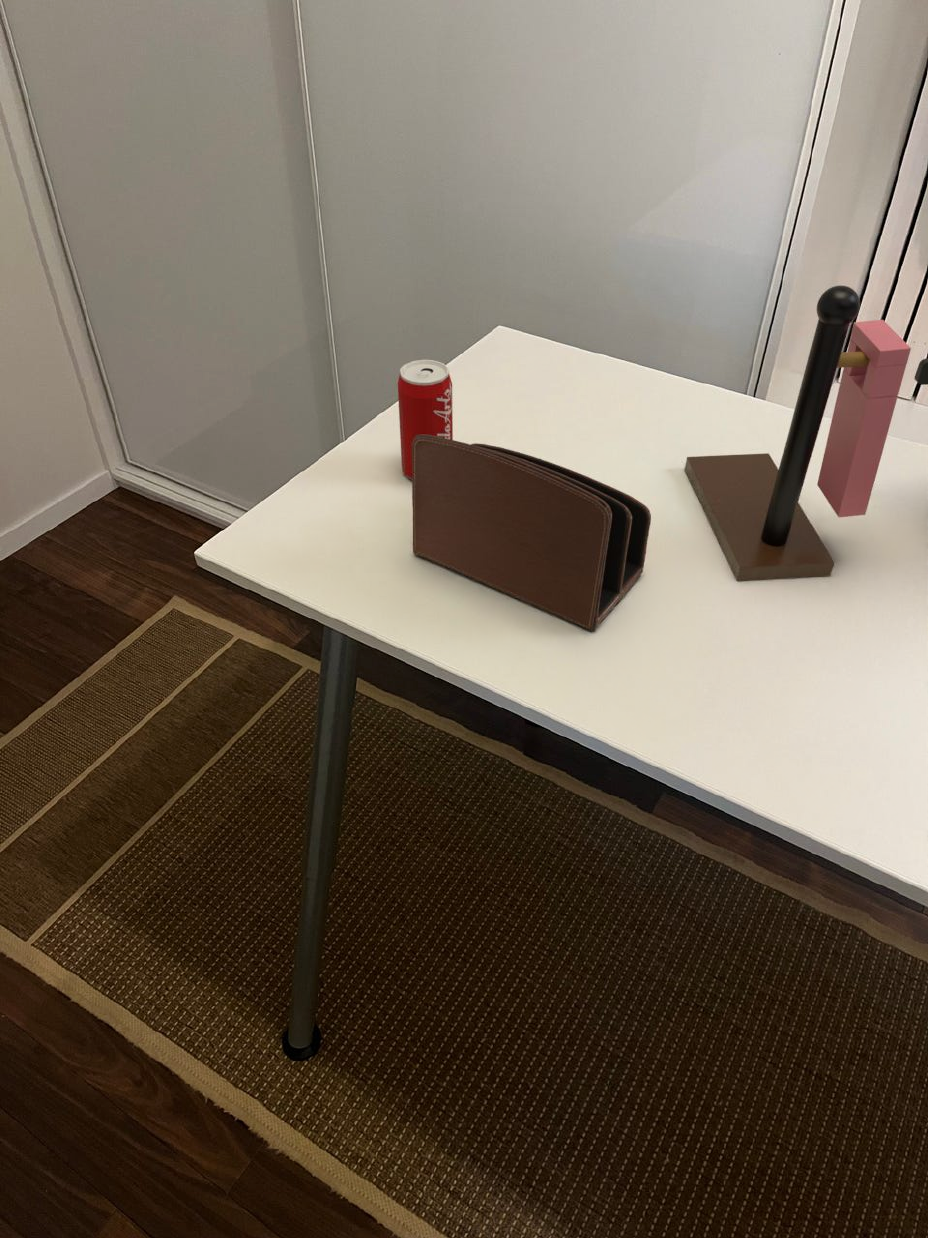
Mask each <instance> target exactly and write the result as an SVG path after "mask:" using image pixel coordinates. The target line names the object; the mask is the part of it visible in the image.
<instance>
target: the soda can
mask: <svg viewBox="0 0 928 1238" xmlns="http://www.w3.org/2000/svg"><path fill="white" fill-rule="evenodd" d="M397 397H398V416H399V419H398V420H399V436H400V437H399V439H400V440H399V441H400V453H401V454H400V458H401V459H400V460H401V472H402V473H403V474H404V475H405V476H406V477H407V478H409V479H410V480H412V478H413V474H412V473H413V470H412V442H413V439H414V438H415V436H417V435H421V434H423V435H432V436H436V437H442V438H446V439H450V440H454V427H453V426H454V425H453V424H454V423H453V422H454V421H453V420H454V418H453V417H454V416H453V413H454V412H453V382H452V378H451V374H450V369H449V367H448V365H446V364H445V363H443V362H440V361H438V360H432V359H418V360H413V361H412V360H411V361H410V362H408V363H405V364H403V366H402V367H401V368H400V369H399V376H398V381H397Z"/></svg>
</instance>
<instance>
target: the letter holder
mask: <svg viewBox="0 0 928 1238" xmlns="http://www.w3.org/2000/svg"><path fill="white" fill-rule="evenodd" d="M412 470H413V473H412V474H413V478H412V481H411V500H412V502H411V503H412V552H413V554H414V555H416V556H419V557H422V558H424V559H426V560H428V561H431V562H433V563H435V564H438V565H440V566H443V567H445V568H447V569H450V570H452V571H455V572H456V573H459V574H461V575H463V576H466V577H467V578H470V579H472V580H475V581H477V582H480V583H482V584H483V585H486V586H489V587H491V588H493V589H495V590H497V591H500V592H502V593H504V594H506V595H509V596H510V597H513V598H515V599H517V600H520V601H522V602H524V603H526V604H529V605H531V606H533V607H536V608H538V609H540V610H543V611H544V612H547V613H549V614H551V615H553V616H556V617H559V618H560V619H563V620H565V621H567V622H569V623H572V624H574V625H577V626H580V627H582V628H583V629H585V630H588V631H589V632H591V633H592V632H595V630H596V629H597V627H598V626H599V625H600V624H601V623H602V621H603V620H604V619H605V618H606V617H607V616H608V615H609V614H610V612H611V611H612V610H613V609H614V608H615V606H616V605H617V604H618V603H619V602H620V600H621V599H622V598H623V597H624V596H625V595H626V593H627V592H628V591H630V588H632V586H633V585H634V584H635V582H636V581H637V580H638V579H639V578H640V577H641V575H642V574H643V572H644V567H645V562H646V554H647V547H648V540H649V534H650V530H651V529H650V528H651V524H652V523H651V522H652V514H651V511H650V509H649V507H648V506H646V505H645V504H644V503H643V502H641V501H640V500H638V499H636V498H634V496H631V495H630V494H627V493H625V492H623V491H621V490H619V489H617V488H615V487H612V486H610V485H608V484H606V483H603V482H601V481H600V480H599V481H598V480H596V479H594V478H592V477H589V476H587V475H585V474H582V473H580V472H577V471H574V470H572V469H569V468H567V467H565V466H561V465H558V464H556V463H553V462H552V461H551V462H550V461H548V460H544V459H541V458H538V457H535V456H533V455H530V454H526V453H522V452H519V451H516V450H512V449H510V448H509V449H508V448H504V447H501V446H496V445H491V444H487V443H486V444H485V443H476V442H475V443H467V442H463V441H458V440H454V439H453V440H450V439H446V438H442V437H436V436H432V435H423V434H421V435H417V436H415V438H414V439H413V442H412Z"/></svg>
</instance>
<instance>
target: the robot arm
mask: <svg viewBox="0 0 928 1238" xmlns="http://www.w3.org/2000/svg"><path fill="white" fill-rule="evenodd" d="M914 380H915V382H916V383H917V384H918V385H920V386H923V385H924V386H925V385H928V358H923V359H921V360H920V361H919V363H918V366H917V369H916V372H915V374H914Z"/></svg>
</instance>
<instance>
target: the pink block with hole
mask: <svg viewBox="0 0 928 1238" xmlns="http://www.w3.org/2000/svg"><path fill="white" fill-rule="evenodd" d="M911 350H912V348H911V346H910V345H909V344H908V343H907V342H906V341H904V339H903V338H902V337H900V335H899V334H898V333H897V332H896V331H895V330H894V329H893V328H892V327H891V326H890V325H889V324H888V323H887V322H886V321H885V320H884V319H875V320H865V321H856V322H855V321H854V322H853V325H852V329H851V334H850V339H849V343H848V348H847V351H846V352H863V353H864V354H865V355H866V356H867V357H868V358H869V359H870V361H869V364H868V366H867V367H843V370H842V374H841V378H840V381H839V387H838V391H837V395H836V399H835V404H834V409H833V413H832V417H831V422H830V426H829V430H828V435H827V440H826V444H825V448H824V453H823V457H822V461H821V466H820V469H819V475H818V479H817V487H818V489H819V490H820V491H821V493H822V495H823V496H824V498H825V499H826V501H827V502H828V504H829V505H830V507H831V508H832V510H833V512H834V514H835V515H836V516H837V517H838V518H847V517H849V518H850V517H857V516H866V513H867V510H868V507H869V502H870V500H871V499H870V498H871V495H872V491H873V489H874V485H875V481H876V477H877V474H878V469H879V466H880V463H881V459H882V455H883V452H884V448H885V445H886V442H887V441H886V440H887V438H888V434H889V431H890V430H889V429H890V426H891V422H892V419H893V417H894V412H895V409H896V404H897V401H898V396H899V393H900V389H901V385H902V382H903V379H904V374H905V371H906V367H907V364H908V361H909V358H910V353H911Z"/></svg>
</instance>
